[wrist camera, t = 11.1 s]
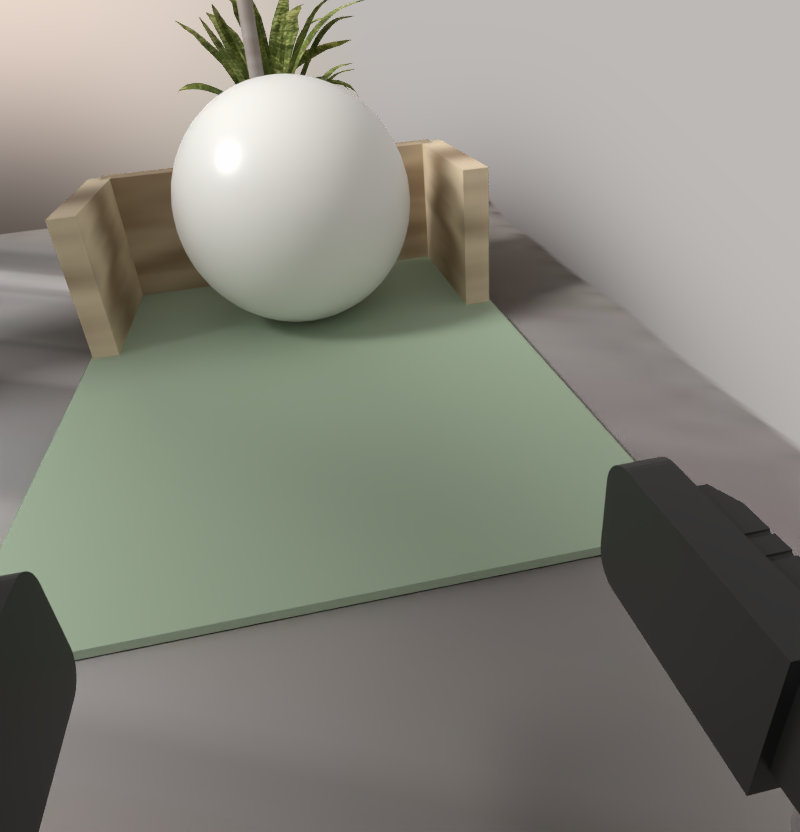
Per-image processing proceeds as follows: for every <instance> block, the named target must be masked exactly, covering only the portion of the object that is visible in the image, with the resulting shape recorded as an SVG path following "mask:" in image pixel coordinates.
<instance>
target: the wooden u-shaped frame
mask: <svg viewBox="0 0 800 832" xmlns="http://www.w3.org/2000/svg"><path fill="white" fill-rule="evenodd" d="M236 2H237V8H238V14H239V20H240V25H241V31H242V37H243V43H244V49H245V55H246V61H247V67H248V72H249V78H250V79H252V78H255V77H260V76H264V71H263V65H262V59H261V52H260V46H259V40H258V34H257V27H256V21H255V15H254V9H253V2H252V0H236ZM395 144H396V146H397V148H398V150H399V152H400V154H401V157H402V160H403V164H404V167H405V170H406V174H407V177H408V185H409V194H410V214H409V224H408V229H407V233H406V237H405V241H404V244H403V247H402V249H401V252H400V254H399V256H398V258H397V260H396V261H399V260H406V259H414V258H421V257H429V258H430V259H431V261H432V262H433V263H434V264H435V266H436V267H437V268H438V269H439V271H440V272H441V273H442V274H443V276H444V277H445V278H446V279H447V281H448V282H449V283H450V285H451V286H452V287H453V288H454V290H455V291H456V292H457V293H458V295H459V296H460V297H461V298H462V300H463V301H464V302H465V303H466V305H467V304H473V303H480V302H487V301H489V201H488V167H487V166H485V165H483V164H482V163H480V162H478V161H476V160H475V159H473V158H471V157H469V156H468V155H466V154H464V153H462V152H461V151H459V150H457V149H455V148H454V147H452V146H450V145H449V144H447V143H445V142H443V141H442V140H434V141H429V140H428V139H427V140H419V141H410V142H401V143H395ZM172 173H173V168H168V169H160V170H150V171H142V172H133V173H124V174H114V175H106V176H102V177H101V178H95V179H88V180H87V181H86V182H85V183H84V184H83V185H82V186H81V187H80V188H79V189H78V190H77V191H76V192H75V193H73V194H72V195H71V196H70V197H69V198H68V199H67V200H66V201H65V202H64V203H63V204H62V205H61V206H60V207H59V208H57V209H56V211H54V212H53V213H52V214H51V215H50V216H49V217H48V218H47V219H46V220H45V221H46V224H47V227H48V230H49V233H50V236H51V238H52V241H53V244H54V247H55V250H56V253H57V256H58V259H59V262H60V265H61V267H62V270H63V273H64V276H65V279H66V282H67V285H68V288H69V291H70V294H71V296H72V299H73V302H74V305H75V308H76V311H77V314H78V317H79V320H80V323H81V325H82V328H83V331H84V334H85V337H86V340H87V343H88V346H89V349H90V351H91V354H92V357H93V359H96V358H102V357H109V356H116V355H120V352H121V350H122V347H123V345H124V342H125V340H126V337H127V335H128V332H129V329H130V327H131V324H132V322H133V319H134V317H135V314H136V312H137V309H138V307H139V304H140V302H141V299H142V297H143V295H147V294H155V293H162V292H169V291H177V290H184V289H192V288H199V287H207V286H210V285H209V284H208V283H207V281H206V280H205V279H204V278H203V277H202V276H201V275H200V274H199V272H198V271H197V270H196V268H195V267H194V265H193V264H192V262H191V261H190V259H189V257H188V255H187V254H186V252H185V250H184V248H183V245H182V243H181V241H180V238H179V235H178V233H177V230H176V226H175V222H174V217H173V212H172V206H171V179H172Z"/></svg>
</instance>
